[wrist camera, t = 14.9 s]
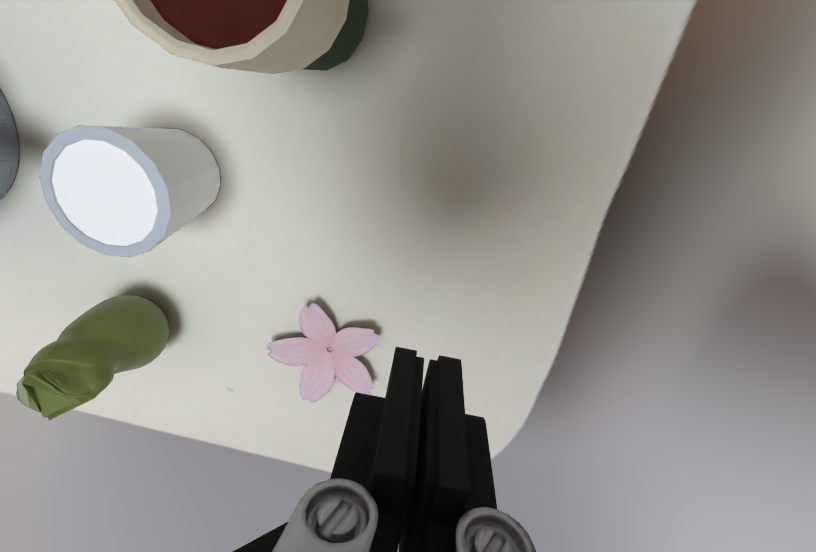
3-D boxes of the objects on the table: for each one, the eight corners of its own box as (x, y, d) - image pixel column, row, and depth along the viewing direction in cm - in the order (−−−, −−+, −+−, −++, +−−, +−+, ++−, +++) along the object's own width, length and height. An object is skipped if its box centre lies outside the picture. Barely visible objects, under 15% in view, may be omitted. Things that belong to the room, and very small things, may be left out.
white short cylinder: (235, 135, 28) (173, 147, 21) (224, 234, 30) (166, 273, 24) (128, 104, 27) (32, 107, 21) (126, 207, 30) (41, 238, 24)
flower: (367, 269, 31) (364, 277, 29) (415, 382, 34) (414, 395, 33) (246, 307, 32) (237, 317, 31) (303, 411, 36) (297, 424, 34)
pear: (154, 272, 32) (37, 345, 23) (197, 330, 34) (105, 419, 24) (98, 301, 33) (-34, 381, 24) (143, 355, 35) (35, 449, 26)
